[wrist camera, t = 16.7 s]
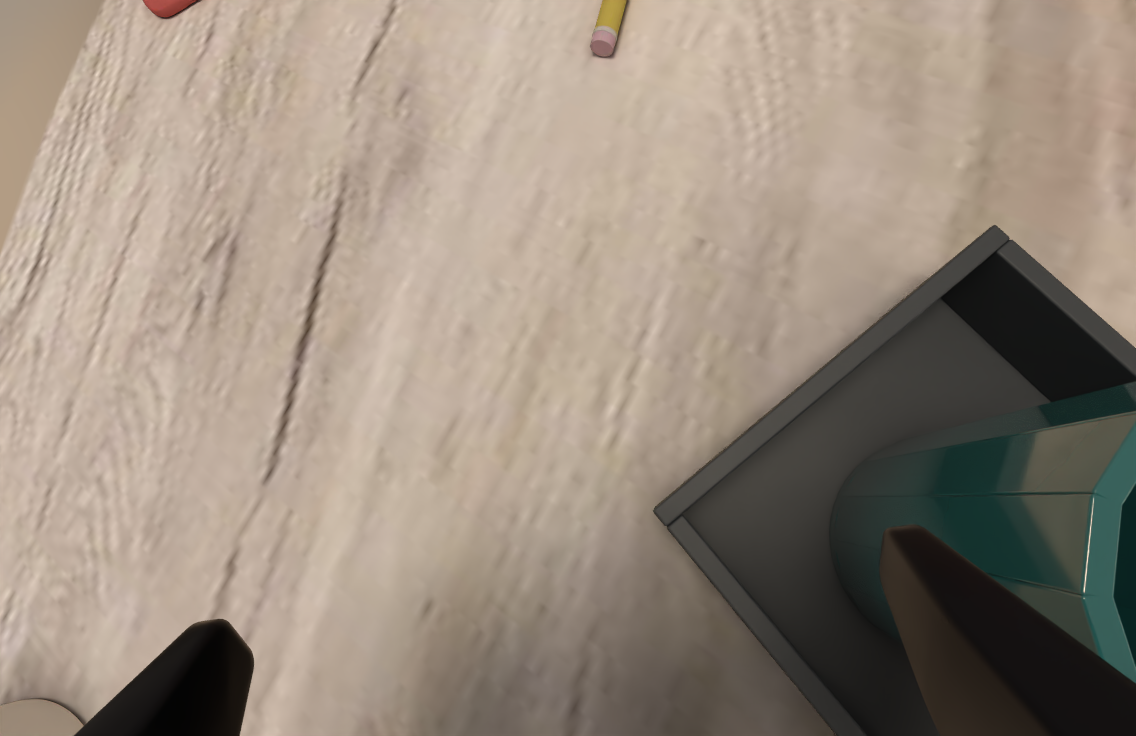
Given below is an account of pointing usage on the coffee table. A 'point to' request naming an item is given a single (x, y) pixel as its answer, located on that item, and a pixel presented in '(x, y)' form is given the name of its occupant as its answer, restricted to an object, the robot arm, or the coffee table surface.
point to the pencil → (607, 27)
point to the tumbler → (1013, 513)
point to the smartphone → (167, 6)
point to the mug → (37, 719)
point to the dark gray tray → (854, 432)
